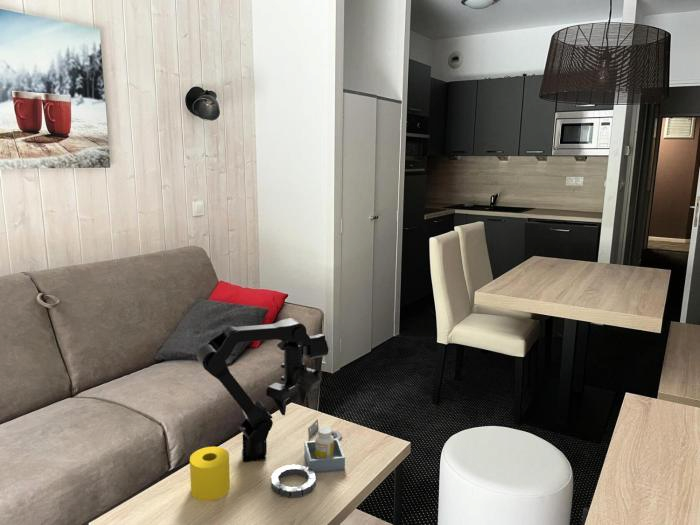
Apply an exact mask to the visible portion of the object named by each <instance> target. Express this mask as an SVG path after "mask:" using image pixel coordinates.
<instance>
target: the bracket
mask: <svg viewBox="0 0 700 525" xmlns="http://www.w3.org/2000/svg"><path fill="white" fill-rule="evenodd" d="M317 428H318V429H319V419H318V418H317V419H316V420H314V422H313V423H311V425H310V426H309V427H308V428H307V432H308V433H307V434H308V437H309V436H310V435H311V434H312V433H313V432H314V431H315V430H316V429H317ZM318 429H317V430H318ZM317 430H316V431H317ZM316 431H315V432H316ZM315 432H314V433H315ZM314 433H313V434H314ZM313 434H312V435H313ZM312 435H311V436H312ZM311 436H310V437H311ZM332 436H333V438H334V439H338V440H339V441H340V440H341V439H342V437H343V434H342V433H341V431H338V430H332Z"/></svg>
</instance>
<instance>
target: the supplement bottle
mask: <svg viewBox="0 0 700 525" xmlns="http://www.w3.org/2000/svg"><path fill="white" fill-rule="evenodd" d="M315 438H316V439H315ZM315 438H314V441H315V459H323V458H333V446H334V438H333V435H332V428H331V427H329V426H321V427H318V429H317V435H316V436H315Z"/></svg>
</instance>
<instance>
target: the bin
mask: <svg viewBox="0 0 700 525" xmlns="http://www.w3.org/2000/svg"><path fill="white" fill-rule="evenodd" d="M303 445H304V450H303V451H304V458H305V463H306V462H307V463H306V467H308V468H309V469H311V470H312V471H314V473H315V474H318V473H319V474H320V473H330V472H341V471H345V470H346V457H345V454H344V451H343V449H342V445H341V443H340V439H339V440H338V439H334V446H333V458H323V459H315V440H311V441H310V440H309V441H304V444H303Z"/></svg>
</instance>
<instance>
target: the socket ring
mask: <svg viewBox="0 0 700 525" xmlns="http://www.w3.org/2000/svg"><path fill="white" fill-rule="evenodd" d="M288 476H299V477H305V478H304V479H306V480H307V481H306V482H305V483H304V484H301V485H299V486H288V485H284V484H283V483H281V482H280V481H281V480H282V479H284V478H286V477H288ZM270 481H271V489H273V490H272V492H274V494H276V495H278V496H279V497H283V498H286V499H297V498H302V497H303V498H304V496H306V495H307V496H308V495H309V494H311V493H312V492H313V490H314V489H315V487H316V486H317V485H316V484H317V479H316V473H314V471H312V470H311V469H309V468H308V467H307V465H301V464H291V465H290V464H289V465H284V466H282V467H280V468H278V469H276V470H275V471H274V472H273V473H272V475H271V478H270Z"/></svg>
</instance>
